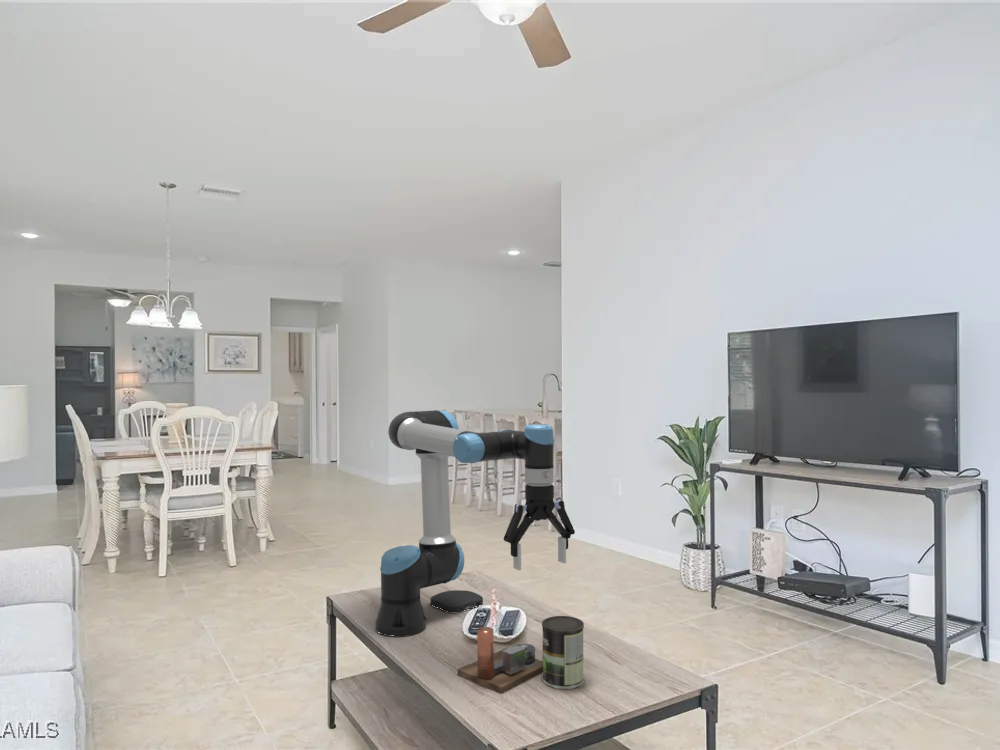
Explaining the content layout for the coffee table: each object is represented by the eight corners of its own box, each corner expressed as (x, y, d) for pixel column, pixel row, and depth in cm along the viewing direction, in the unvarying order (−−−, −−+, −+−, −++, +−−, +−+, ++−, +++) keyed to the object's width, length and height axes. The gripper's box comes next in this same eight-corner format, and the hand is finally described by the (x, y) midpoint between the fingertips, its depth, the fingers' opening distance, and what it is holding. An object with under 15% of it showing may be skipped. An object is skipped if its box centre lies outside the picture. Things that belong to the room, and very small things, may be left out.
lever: (523, 653, 178) (523, 611, 178) (543, 661, 172) (543, 618, 172) (471, 673, 166) (471, 628, 166) (491, 683, 160) (490, 636, 160)
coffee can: (543, 689, 161) (542, 630, 161) (541, 671, 171) (541, 615, 171) (586, 689, 161) (585, 630, 161) (582, 671, 171) (581, 615, 171)
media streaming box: (459, 595, 234) (459, 586, 234) (487, 605, 223) (487, 596, 223) (425, 605, 224) (425, 596, 224) (453, 616, 213) (453, 606, 213)
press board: (457, 675, 169) (457, 668, 169) (505, 653, 182) (505, 647, 182) (501, 693, 159) (501, 686, 159) (548, 669, 172) (548, 662, 172)
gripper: (504, 489, 167) (504, 575, 166) (587, 482, 178) (587, 562, 178) (490, 485, 173) (490, 568, 173) (571, 478, 185) (572, 556, 185)
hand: (540, 565), depth 176 cm, fingers open, 13 cm apart
